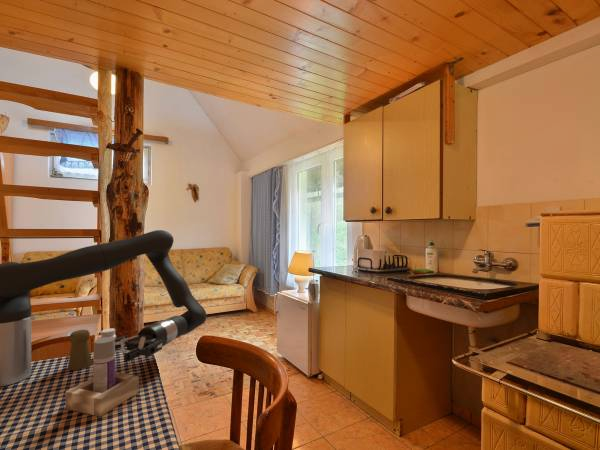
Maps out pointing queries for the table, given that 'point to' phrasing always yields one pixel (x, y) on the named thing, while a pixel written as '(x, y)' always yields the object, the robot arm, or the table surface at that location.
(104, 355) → the container
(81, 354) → the olive pepper mill
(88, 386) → the square holder
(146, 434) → the table surface
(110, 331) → the pill bottle
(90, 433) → the table surface
